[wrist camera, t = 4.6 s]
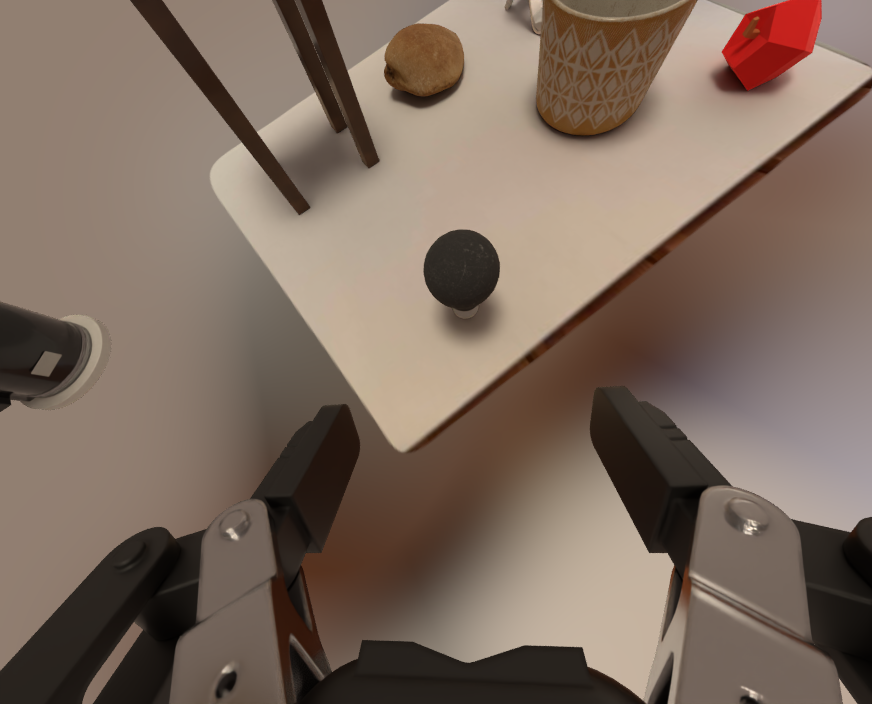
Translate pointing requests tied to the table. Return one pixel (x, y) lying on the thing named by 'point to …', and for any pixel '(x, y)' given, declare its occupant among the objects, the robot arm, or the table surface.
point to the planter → (602, 58)
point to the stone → (424, 59)
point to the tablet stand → (532, 13)
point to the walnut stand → (331, 60)
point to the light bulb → (462, 271)
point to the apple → (773, 40)
